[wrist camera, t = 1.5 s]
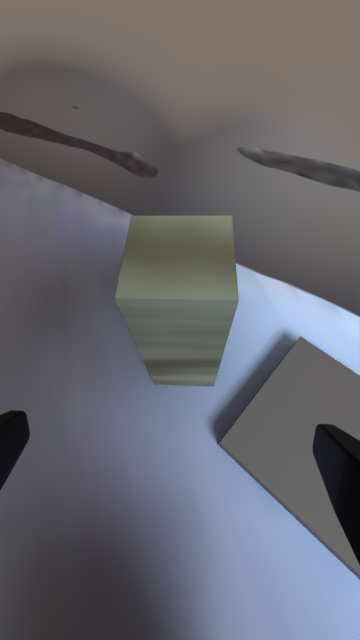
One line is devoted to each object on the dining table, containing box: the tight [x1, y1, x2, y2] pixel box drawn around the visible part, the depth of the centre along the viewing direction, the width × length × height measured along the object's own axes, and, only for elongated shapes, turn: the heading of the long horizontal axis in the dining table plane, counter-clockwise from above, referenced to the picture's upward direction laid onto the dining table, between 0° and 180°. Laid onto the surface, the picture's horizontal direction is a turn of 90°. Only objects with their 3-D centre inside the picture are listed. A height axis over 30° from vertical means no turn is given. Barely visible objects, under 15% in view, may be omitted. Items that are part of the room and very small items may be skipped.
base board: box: [218, 337, 360, 579], centre depth 18 cm, size 11×11×2 cm
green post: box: [115, 216, 239, 387], centre depth 17 cm, size 5×5×13 cm
